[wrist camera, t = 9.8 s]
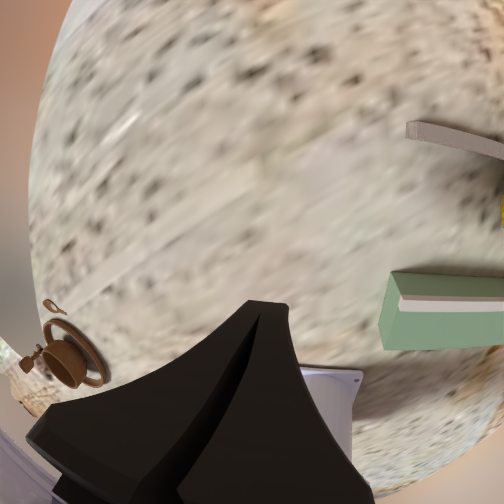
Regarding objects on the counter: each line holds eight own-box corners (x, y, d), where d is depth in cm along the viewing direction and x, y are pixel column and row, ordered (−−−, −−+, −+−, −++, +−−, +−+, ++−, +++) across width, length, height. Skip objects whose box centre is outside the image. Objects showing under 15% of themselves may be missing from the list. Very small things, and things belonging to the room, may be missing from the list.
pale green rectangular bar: (518, 321, 16) (534, 344, 13) (378, 324, 19) (385, 356, 16) (535, 279, 14) (555, 299, 11) (390, 271, 17) (403, 299, 14)
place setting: (121, 401, 35) (103, 428, 30) (40, 354, 38) (22, 372, 33) (95, 318, 28) (64, 348, 22) (11, 274, 31) (-15, 291, 25)
